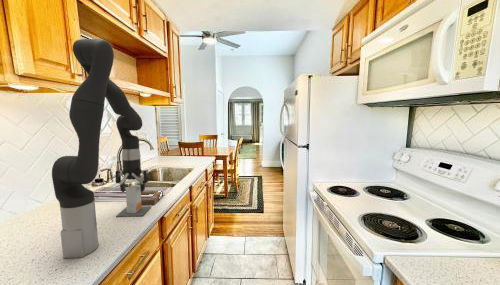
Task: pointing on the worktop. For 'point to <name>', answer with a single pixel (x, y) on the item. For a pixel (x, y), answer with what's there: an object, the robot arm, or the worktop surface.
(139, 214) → the mat
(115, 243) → the worktop surface
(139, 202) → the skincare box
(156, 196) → the slot block
